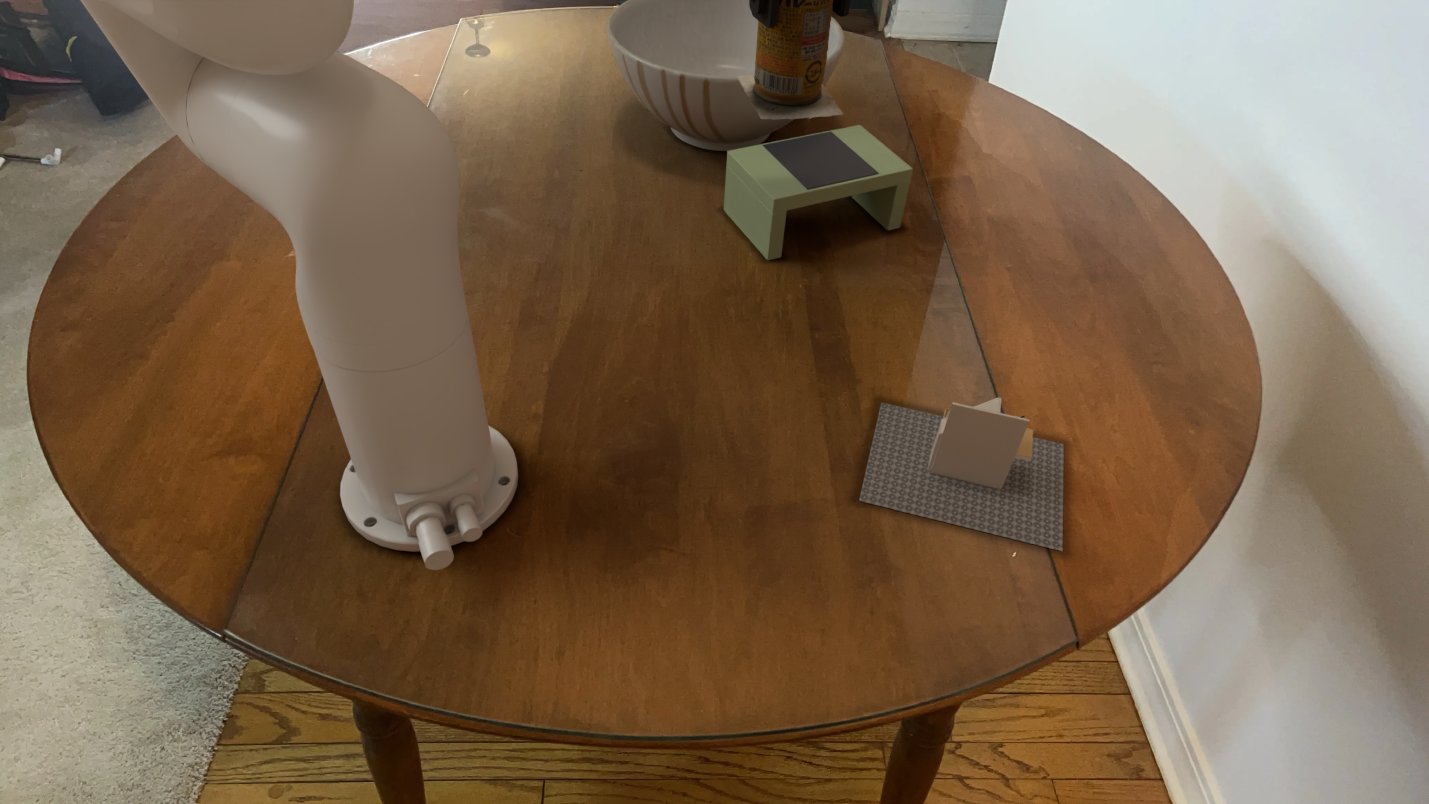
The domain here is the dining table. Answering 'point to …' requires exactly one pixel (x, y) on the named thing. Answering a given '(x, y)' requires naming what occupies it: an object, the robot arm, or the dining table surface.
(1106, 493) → the dining table surface
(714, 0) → the decorative bowl
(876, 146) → the shelf
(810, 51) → the condiment
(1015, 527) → the architectural model
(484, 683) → the dining table surface
